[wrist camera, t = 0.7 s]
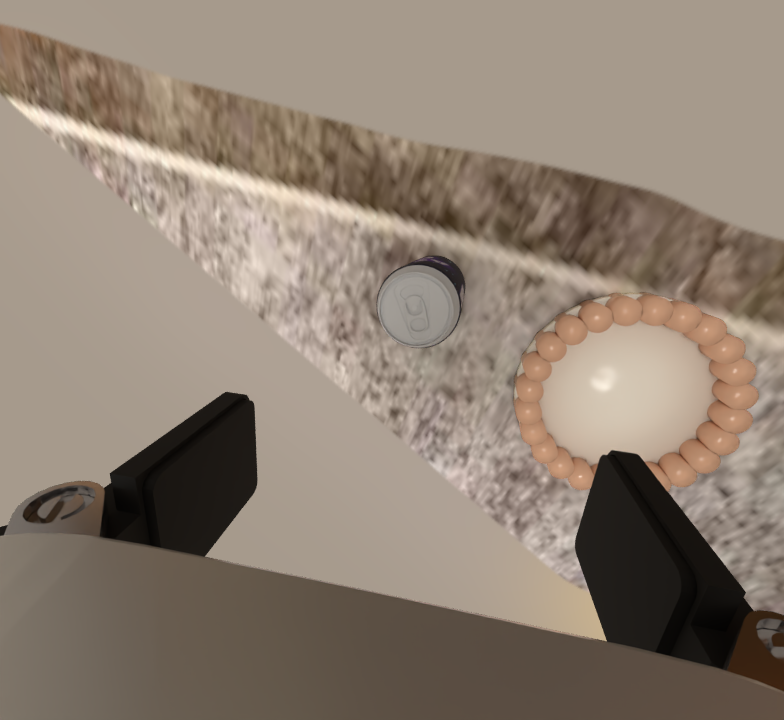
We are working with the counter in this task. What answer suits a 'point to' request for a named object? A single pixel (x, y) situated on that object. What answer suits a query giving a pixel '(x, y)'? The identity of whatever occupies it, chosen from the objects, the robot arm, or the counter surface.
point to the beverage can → (421, 302)
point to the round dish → (634, 388)
